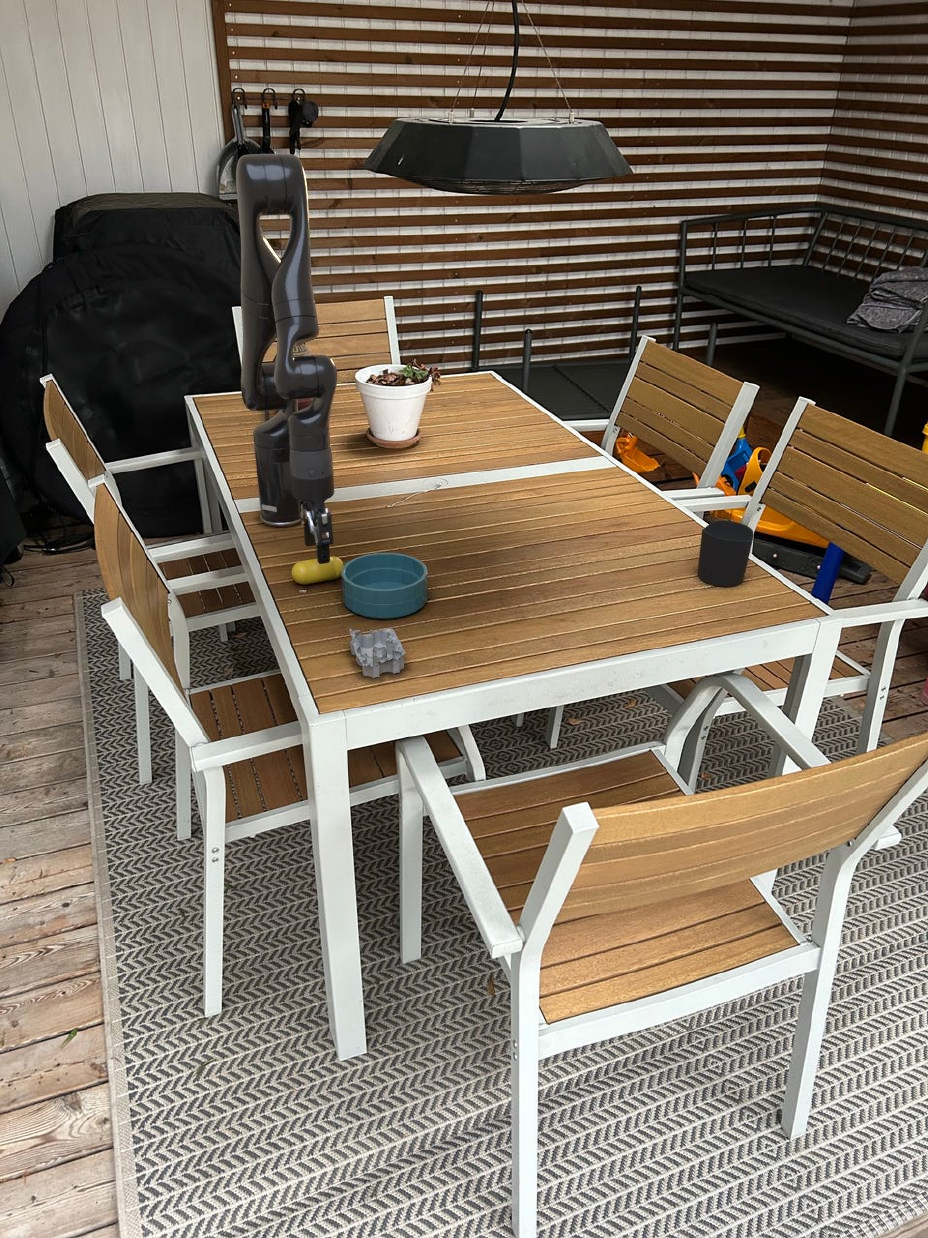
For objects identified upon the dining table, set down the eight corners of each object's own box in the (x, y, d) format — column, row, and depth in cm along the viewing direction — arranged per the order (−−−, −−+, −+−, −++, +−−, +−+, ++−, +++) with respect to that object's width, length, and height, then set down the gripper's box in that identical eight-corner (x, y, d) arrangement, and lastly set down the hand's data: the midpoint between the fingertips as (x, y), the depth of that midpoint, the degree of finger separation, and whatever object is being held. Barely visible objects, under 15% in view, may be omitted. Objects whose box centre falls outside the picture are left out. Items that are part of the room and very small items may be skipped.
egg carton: (347, 648, 158) (346, 626, 156) (391, 641, 160) (390, 620, 158) (362, 681, 149) (361, 659, 147) (408, 673, 151) (408, 651, 149)
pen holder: (753, 586, 180) (762, 538, 175) (707, 590, 178) (715, 542, 173) (731, 565, 188) (740, 518, 183) (687, 568, 186) (694, 521, 181)
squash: (295, 590, 175) (294, 568, 173) (289, 580, 179) (288, 559, 176) (352, 580, 179) (351, 559, 177) (345, 570, 182) (344, 550, 180)
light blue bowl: (327, 596, 173) (325, 566, 170) (395, 574, 182) (395, 545, 179) (373, 629, 163) (372, 598, 160) (443, 604, 171) (444, 574, 168)
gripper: (344, 480, 163) (348, 565, 171) (321, 455, 175) (326, 536, 183) (301, 486, 161) (307, 572, 168) (281, 460, 172) (287, 542, 180)
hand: (317, 553), depth 176 cm, fingers open, 8 cm apart
